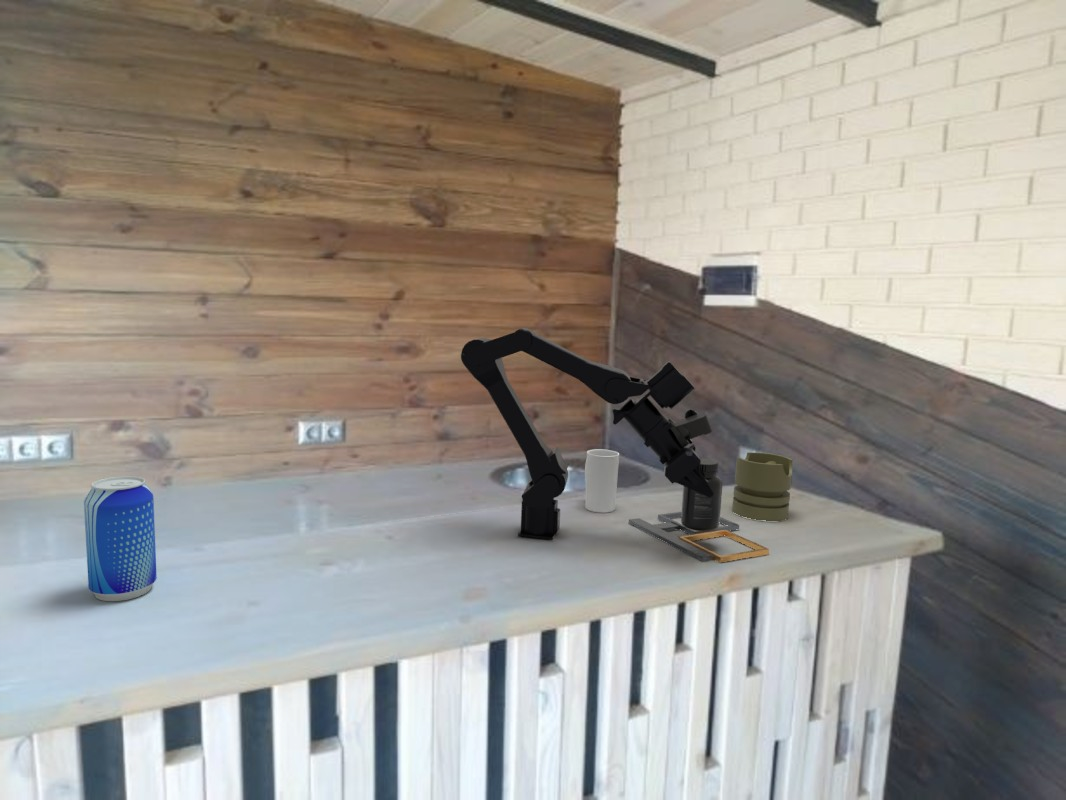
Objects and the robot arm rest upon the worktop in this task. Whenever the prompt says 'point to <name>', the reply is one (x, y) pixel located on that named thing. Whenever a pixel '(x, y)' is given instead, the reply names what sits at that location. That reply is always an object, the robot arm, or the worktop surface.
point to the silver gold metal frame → (698, 538)
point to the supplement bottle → (703, 501)
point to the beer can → (120, 538)
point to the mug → (601, 480)
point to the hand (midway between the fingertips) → (709, 490)
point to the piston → (762, 486)
